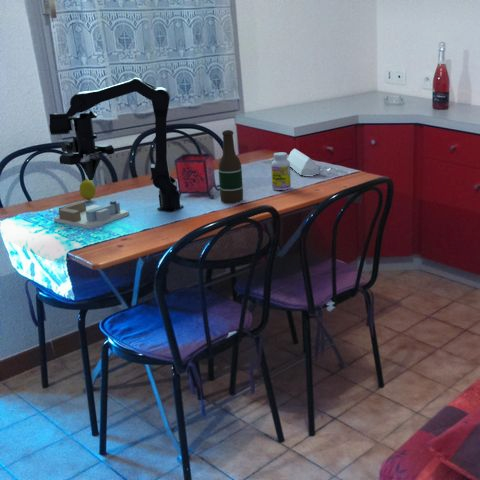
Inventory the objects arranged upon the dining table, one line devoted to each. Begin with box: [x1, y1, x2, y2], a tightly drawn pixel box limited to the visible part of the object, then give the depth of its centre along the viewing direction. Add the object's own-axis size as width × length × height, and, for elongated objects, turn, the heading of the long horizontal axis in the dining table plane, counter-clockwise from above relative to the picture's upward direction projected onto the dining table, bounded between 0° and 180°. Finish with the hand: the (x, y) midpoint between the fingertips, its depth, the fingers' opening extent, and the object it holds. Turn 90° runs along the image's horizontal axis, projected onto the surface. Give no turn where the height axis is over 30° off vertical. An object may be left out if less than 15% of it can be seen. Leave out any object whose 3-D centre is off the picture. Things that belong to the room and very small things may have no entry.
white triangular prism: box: [287, 148, 320, 176], centre depth 270 cm, size 7×7×24 cm
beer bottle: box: [218, 129, 244, 204], centre depth 231 cm, size 8×8×24 cm
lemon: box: [79, 178, 97, 202], centre depth 244 cm, size 6×6×8 cm
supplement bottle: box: [270, 151, 292, 191], centre depth 244 cm, size 7×7×13 cm
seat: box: [53, 200, 130, 230], centre depth 224 cm, size 18×17×4 cm
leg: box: [86, 200, 121, 221], centre depth 221 cm, size 12×3×4 cm, turn 142°
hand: (90, 180), depth 225 cm, fingers closed
